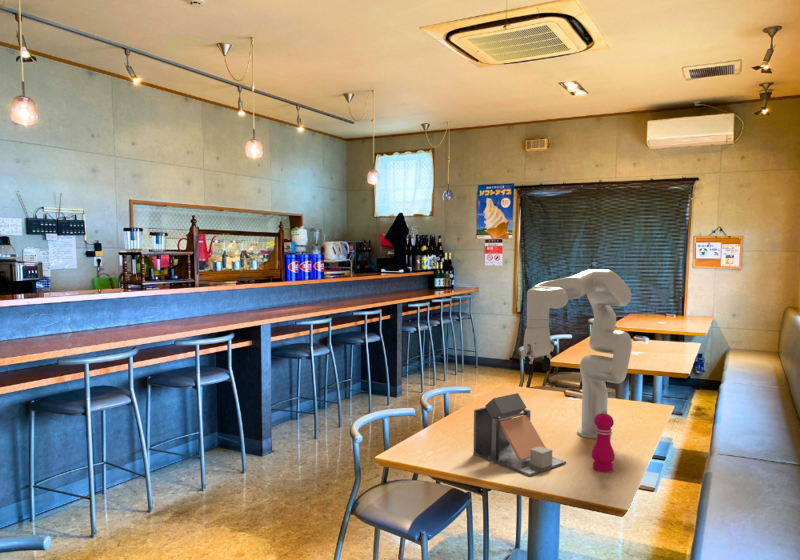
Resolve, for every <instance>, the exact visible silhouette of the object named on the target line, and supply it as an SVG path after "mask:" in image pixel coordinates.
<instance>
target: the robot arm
mask: <svg viewBox="0 0 800 560" xmlns="http://www.w3.org/2000/svg"><path fill="white" fill-rule="evenodd" d="M585 295H586V296H587V297H586V298H587V300H588V302H589V303H590V304H589V305H590V306H591V308H592V312H593V322H592V327H591V331H590V335H589V342H588V343H589V348H590V349H591V350H592V351H594V352H597V353H601V354H608V355H612V356H611V357H610V356H604V355H599V354H598V355H597V354H588V355H585V356H583V357H582V358H581V360H580V363H579V370H580V375H581V384H582V385H581V388H582V390H581V394H582V395H581V427H579V428H578V429H577V432H576V433H577V435H579V436H580V437H582V438H585V439H592V440H597V432H596V427H597V426H596V425H595V423H594V419H595V417H596V415H598V414H600V413H602V412H601V410H602V409H606V410H607V411H608V398H609V397H608V396H609V392H608V388H607V385H606V383H605V382H607V383H611V384H612V383H613V384H621V383H623V382H624V381H625V379H626V378H627V377H626V376H627V373H628V370H629V364H630V359H631V354H632V353H631V352H632V347H633V342H632V338H631V336H630V334H629V332H627V331H623V330H618V329H616V324H617V315H616V313H615V312H614V309H613V308H612V306H613V307H625V306H627V305H628V304H629V303H630V302H631V300H632V299H631V298H632V291H631V289H630V287H629V286H628V284H627V283H626V282H625V281H624V280H623V279H622V278H621V276H619V275H618V274H617V273H616V272H615V271H613V270H611V269H596V268H595V269H593V268H592V269H585V270H582V271H580V272H577V273H576V274H573V275H570V276H567V277H562V278H557V279H552V280H551V279H550V280H547V281H543V282H540V283H538V284H535V285H534V286H532V287H531V288H529V289H528V290H527V292H526V327H525V329H524V330H525V331H524V337H523V349H521V351H520V355H521V357H522V358H521V359H522V361H523V364H524V375H528V376H534V363H533V361H534V359H536V358H541V357H542V358H541V370H542V371H544V372H551V360H552V359H553V357H552V356H553V354H554V353H553V352H554V350H555V345H553V344H552V343H551V342H552V341H551V331H550V330H551V329H550V309H561V308H563V307H565V306H566V305H567V304H568V302H569V300H575V299H579V298H582V297H584V296H585ZM606 414H608V412H607V413H606ZM611 437H612V433H611V434H610V438H611Z"/></svg>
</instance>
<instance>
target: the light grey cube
mask: <svg viewBox="0 0 800 560" xmlns="http://www.w3.org/2000/svg"><path fill="white" fill-rule="evenodd" d="M552 457H553V449H550V448H547V447H546V448H544V447H541V446H539V447H536V448H533V449H531V452H530V464H532V465H535V466H537V467H540V468H545V467H548V466H551V465H552Z"/></svg>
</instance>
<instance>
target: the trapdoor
mask: <svg viewBox="0 0 800 560" xmlns="http://www.w3.org/2000/svg"><path fill="white" fill-rule="evenodd" d="M484 407H486V408H487V410H488V412H489V414H490V416H491V417H497V418H499V419H500V418H504V417H508V416H512V415H516V414H520V413H523V410H525V409H527V406H526V404H525V403H524V401H523V399H522V397H521V395H520V393H519V392H515V393H512V394H507V395H501V396H498V397H493V398H492V399H491V400H490V401H489V402H488V403H487V404H485V406H484ZM499 425H500V427H501V429H502V430H503V432H504V434H505V436H506V438H507V439H508V441H509V443H510V445H511V447H512V448H513V450H514V452H515V454H516V456H517V458H518V459H519V461H521V460H524V459H527V458H530V452H531V449H533V448H536V447H539V446H541V447H544V448H547V447H546V445H545V444H544V441H542V439H541V437H540V436H539V433H538V431H537V430H536V428H535V427H534V425H533V423H532V422H531V419H530V420H529V418H528V416H527V415H524V416H523V415H521V416H517V417H513V418H512V419H508V420H504V421H500V422H499Z"/></svg>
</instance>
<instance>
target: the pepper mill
mask: <svg viewBox="0 0 800 560" xmlns="http://www.w3.org/2000/svg"><path fill="white" fill-rule="evenodd" d="M601 412H602V413H600V414H598V415H596V417H595V419H594V423H595V425H596V426H597V427H596V432H597V439H596V441H595V444H594V445H593V448H592V451H591V458H592V459H593V462H592V468H593V469H594V470H595V471H596V472H597V471H598V472H600V473H610V472H613V471H614V464H613V462H614V461H615V455H616V454H615V451H614V448H613V446H612V443H611V437H610V434H611V435H612V433H613V432H612V431H613V429H612V428H613V427H614V421H615V420H614V418H613V416H612V415H610V414H608V409H607V410H606V409H602V410H601ZM606 413H607V414H606Z"/></svg>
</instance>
